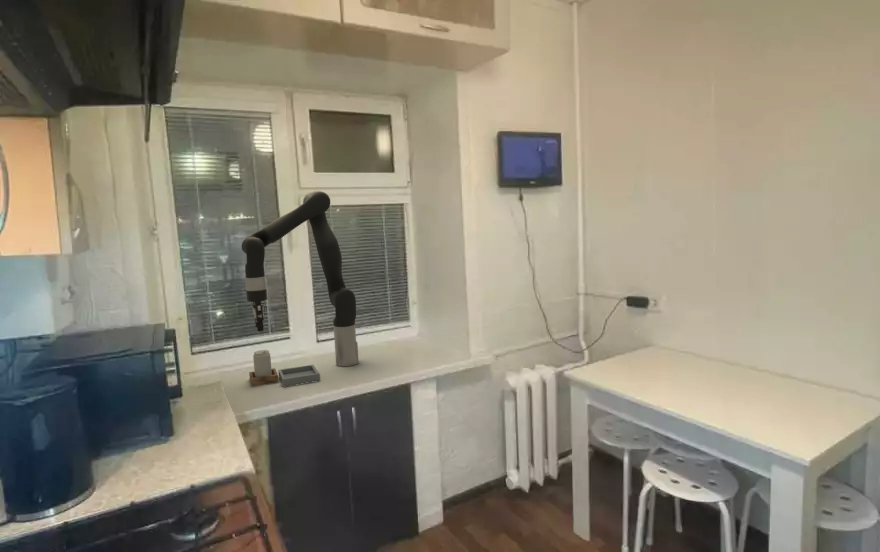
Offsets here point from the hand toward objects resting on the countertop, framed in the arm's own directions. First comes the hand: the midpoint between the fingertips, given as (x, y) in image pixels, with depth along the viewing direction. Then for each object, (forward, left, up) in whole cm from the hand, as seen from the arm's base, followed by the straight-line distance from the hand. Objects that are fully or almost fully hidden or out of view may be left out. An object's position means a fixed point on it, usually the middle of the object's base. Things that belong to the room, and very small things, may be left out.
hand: (259, 329), depth 202 cm
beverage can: (0, 0, -21) cm, 21 cm away
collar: (0, 0, -21) cm, 21 cm away
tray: (-13, +5, -21) cm, 25 cm away
